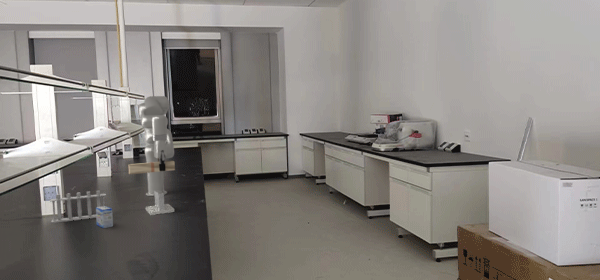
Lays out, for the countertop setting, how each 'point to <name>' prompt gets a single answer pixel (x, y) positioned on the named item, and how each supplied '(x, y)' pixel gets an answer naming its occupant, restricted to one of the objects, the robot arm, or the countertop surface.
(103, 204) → the grey picket fence
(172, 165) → the pine beam
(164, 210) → the ridge stand
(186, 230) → the countertop surface
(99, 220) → the medicine box
